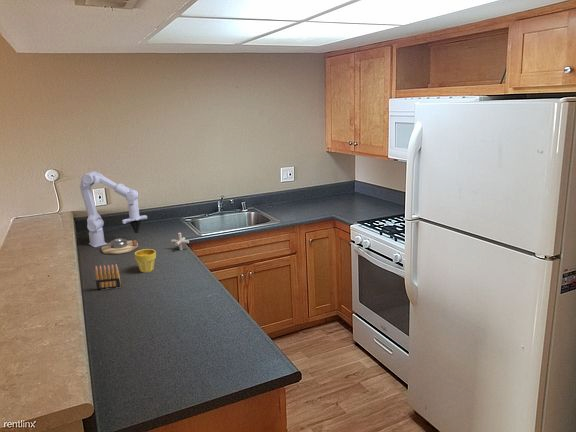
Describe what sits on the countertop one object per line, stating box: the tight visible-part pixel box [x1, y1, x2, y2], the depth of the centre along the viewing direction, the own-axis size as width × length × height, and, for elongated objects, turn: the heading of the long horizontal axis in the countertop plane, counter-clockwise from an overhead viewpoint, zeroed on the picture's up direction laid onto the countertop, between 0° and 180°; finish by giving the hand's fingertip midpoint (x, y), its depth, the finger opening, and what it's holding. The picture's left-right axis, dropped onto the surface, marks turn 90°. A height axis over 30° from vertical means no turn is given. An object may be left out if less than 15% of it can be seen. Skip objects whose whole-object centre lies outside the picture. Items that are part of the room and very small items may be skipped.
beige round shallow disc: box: [100, 239, 139, 255], centre depth 264 cm, size 20×20×4 cm
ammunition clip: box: [94, 263, 122, 290], centre depth 210 cm, size 11×2×12 cm, turn 101°
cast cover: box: [109, 237, 128, 249], centre depth 264 cm, size 9×9×4 cm
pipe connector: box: [171, 232, 190, 251], centre depth 260 cm, size 10×10×10 cm
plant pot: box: [134, 248, 157, 273], centre depth 231 cm, size 10×10×10 cm
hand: (136, 232), depth 270 cm, fingers closed
